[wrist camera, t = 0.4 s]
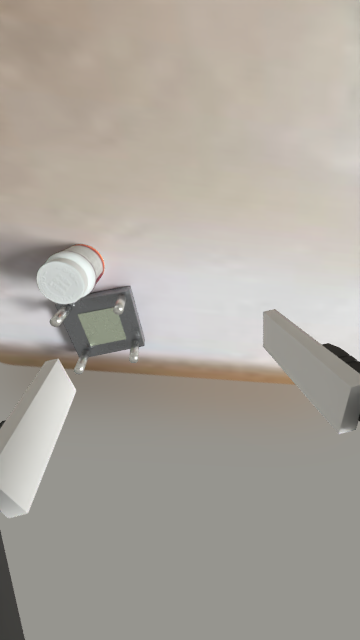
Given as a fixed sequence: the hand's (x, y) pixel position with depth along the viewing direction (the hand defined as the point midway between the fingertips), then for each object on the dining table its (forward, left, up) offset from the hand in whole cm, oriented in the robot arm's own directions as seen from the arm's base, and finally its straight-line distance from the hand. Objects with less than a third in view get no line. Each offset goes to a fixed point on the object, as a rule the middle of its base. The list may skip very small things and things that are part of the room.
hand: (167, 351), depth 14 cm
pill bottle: (-2, -11, -26) cm, 28 cm away
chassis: (+8, -11, -25) cm, 29 cm away
